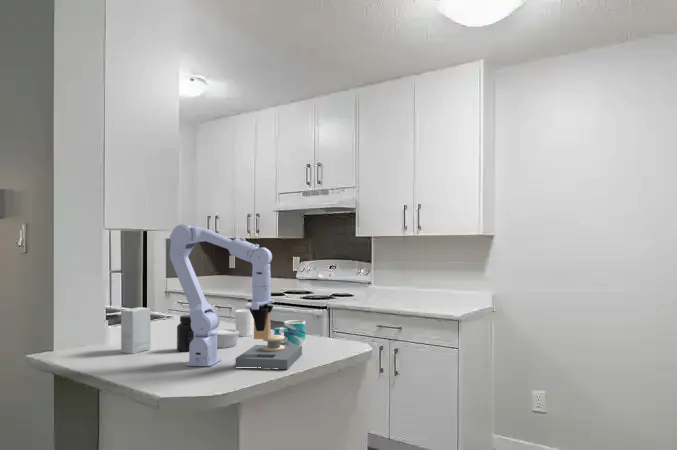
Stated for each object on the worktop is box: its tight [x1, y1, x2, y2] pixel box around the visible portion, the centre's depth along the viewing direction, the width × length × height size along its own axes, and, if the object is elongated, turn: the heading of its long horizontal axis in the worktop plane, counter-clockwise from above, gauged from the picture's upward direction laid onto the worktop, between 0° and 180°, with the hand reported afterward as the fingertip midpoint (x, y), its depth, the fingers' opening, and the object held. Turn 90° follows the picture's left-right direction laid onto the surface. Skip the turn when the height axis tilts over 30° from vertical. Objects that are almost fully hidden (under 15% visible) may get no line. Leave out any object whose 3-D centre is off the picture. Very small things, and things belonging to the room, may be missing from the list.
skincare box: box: [120, 306, 151, 355], centre depth 181 cm, size 8×6×15 cm
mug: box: [273, 319, 307, 347], centre depth 190 cm, size 8×12×8 cm
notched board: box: [235, 334, 303, 370], centre depth 164 cm, size 20×16×7 cm
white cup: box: [234, 308, 254, 338], centre depth 210 cm, size 8×8×10 cm
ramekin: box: [216, 328, 239, 349], centre depth 190 cm, size 11×11×5 cm
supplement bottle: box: [176, 314, 194, 353], centre depth 182 cm, size 7×7×12 cm
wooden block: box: [253, 312, 272, 340], centre depth 162 cm, size 3×4×8 cm, turn 82°
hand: (261, 329), depth 162 cm, fingers closed on wooden block, 3 cm apart
